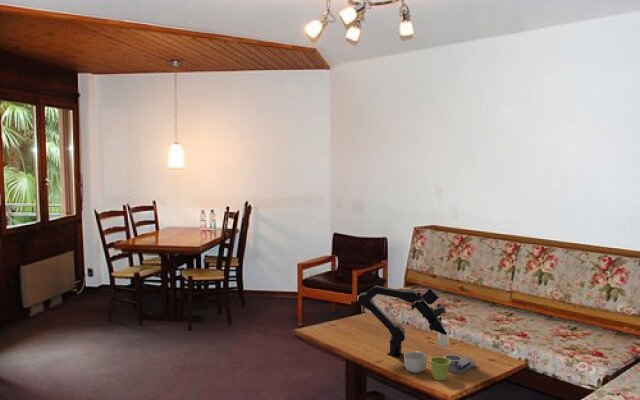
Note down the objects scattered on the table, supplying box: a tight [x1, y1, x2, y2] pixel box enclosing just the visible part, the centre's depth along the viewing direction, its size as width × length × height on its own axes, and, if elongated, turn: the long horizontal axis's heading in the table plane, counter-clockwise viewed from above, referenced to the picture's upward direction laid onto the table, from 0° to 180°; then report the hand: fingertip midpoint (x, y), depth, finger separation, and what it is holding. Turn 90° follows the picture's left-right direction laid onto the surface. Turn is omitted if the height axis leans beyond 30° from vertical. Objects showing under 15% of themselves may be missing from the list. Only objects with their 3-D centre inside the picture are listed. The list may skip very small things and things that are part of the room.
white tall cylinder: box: [437, 320, 450, 348], centre depth 280 cm, size 5×5×12 cm
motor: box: [443, 354, 476, 376], centre depth 270 cm, size 16×13×5 cm
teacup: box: [403, 350, 427, 374], centre depth 265 cm, size 14×11×8 cm
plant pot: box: [429, 356, 451, 382], centre depth 254 cm, size 9×9×9 cm
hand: (446, 332), depth 279 cm, fingers closed on white tall cylinder, 5 cm apart
